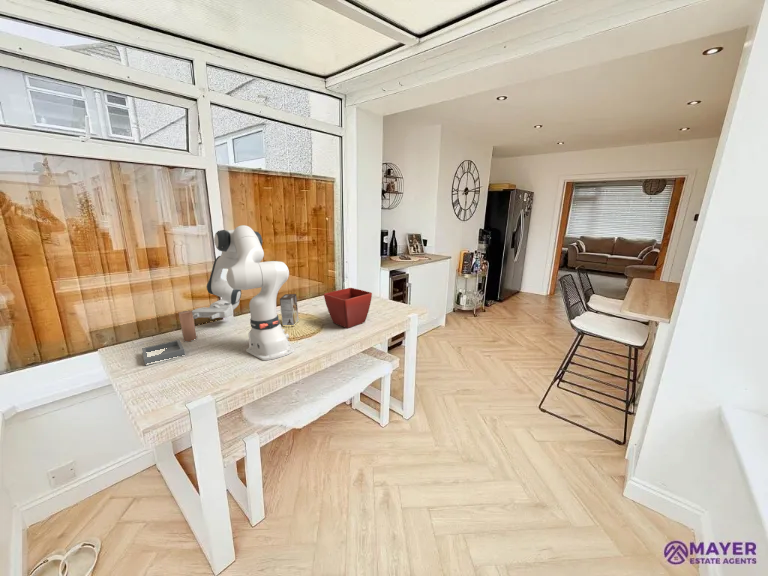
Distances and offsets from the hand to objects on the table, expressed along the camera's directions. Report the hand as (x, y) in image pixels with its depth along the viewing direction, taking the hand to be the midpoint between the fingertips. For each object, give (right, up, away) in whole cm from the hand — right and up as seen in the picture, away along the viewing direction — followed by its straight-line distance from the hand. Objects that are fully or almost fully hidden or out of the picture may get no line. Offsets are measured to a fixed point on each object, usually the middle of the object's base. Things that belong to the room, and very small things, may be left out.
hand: (202, 317), depth 165 cm
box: (-3, -14, -25) cm, 29 cm away
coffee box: (+43, -5, +9) cm, 45 cm away
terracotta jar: (-1, -10, -9) cm, 13 cm away
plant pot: (+75, -4, +9) cm, 76 cm away
